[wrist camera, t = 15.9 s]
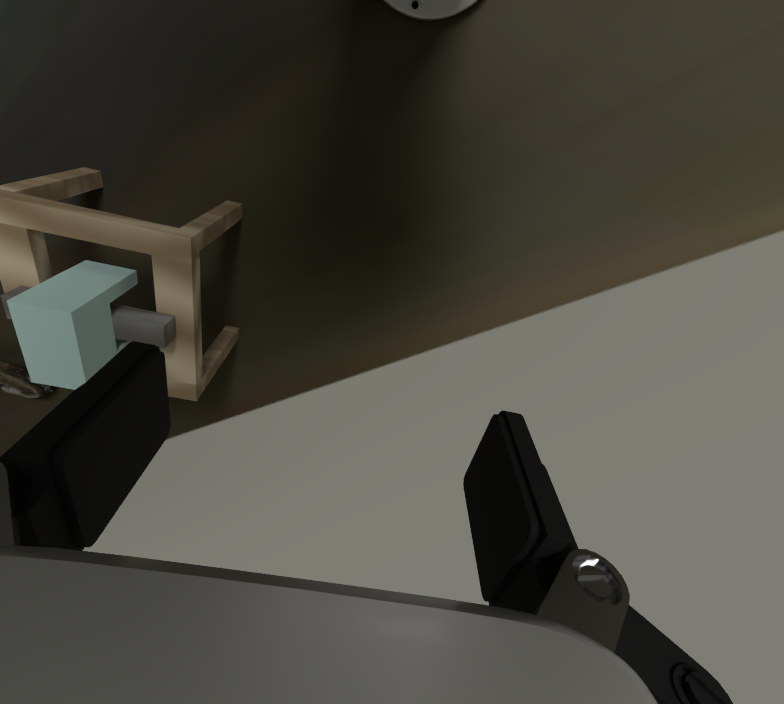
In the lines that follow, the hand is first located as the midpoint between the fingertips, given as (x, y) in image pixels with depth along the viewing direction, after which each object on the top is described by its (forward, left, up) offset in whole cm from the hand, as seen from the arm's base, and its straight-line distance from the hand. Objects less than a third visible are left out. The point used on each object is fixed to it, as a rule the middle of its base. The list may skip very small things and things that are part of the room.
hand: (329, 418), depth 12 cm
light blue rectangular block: (+12, -20, -23) cm, 33 cm away
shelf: (+12, -20, -33) cm, 41 cm away
